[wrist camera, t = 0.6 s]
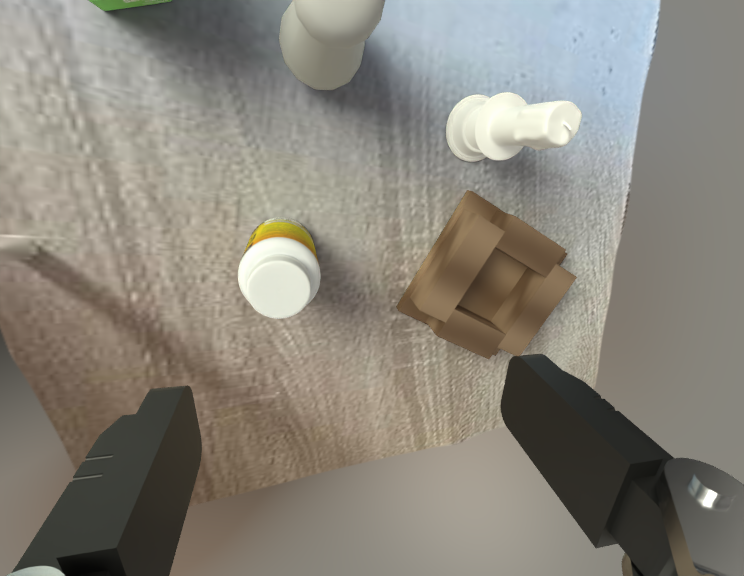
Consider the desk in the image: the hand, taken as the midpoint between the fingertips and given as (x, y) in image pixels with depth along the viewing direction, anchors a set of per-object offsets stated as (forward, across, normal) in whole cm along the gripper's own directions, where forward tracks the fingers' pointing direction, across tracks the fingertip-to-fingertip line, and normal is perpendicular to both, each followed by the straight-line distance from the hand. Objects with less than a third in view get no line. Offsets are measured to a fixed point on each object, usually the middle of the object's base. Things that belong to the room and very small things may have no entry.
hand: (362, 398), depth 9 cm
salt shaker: (+25, -1, -12) cm, 28 cm away
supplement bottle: (+25, +3, +3) cm, 25 cm away
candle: (+25, -14, -7) cm, 30 cm away
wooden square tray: (+25, -17, +7) cm, 31 cm away
